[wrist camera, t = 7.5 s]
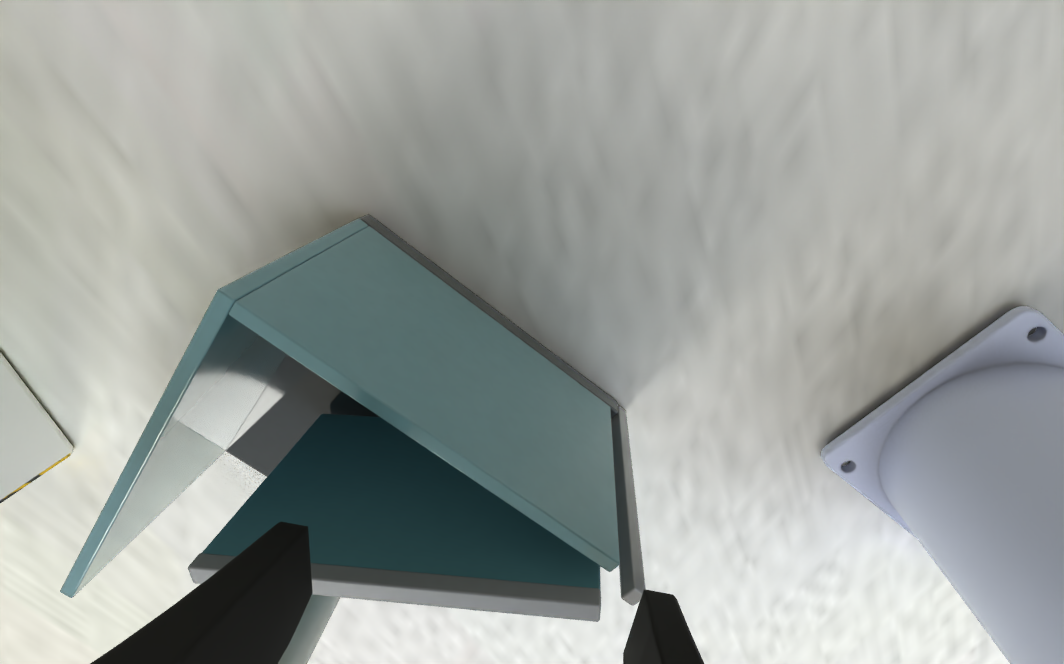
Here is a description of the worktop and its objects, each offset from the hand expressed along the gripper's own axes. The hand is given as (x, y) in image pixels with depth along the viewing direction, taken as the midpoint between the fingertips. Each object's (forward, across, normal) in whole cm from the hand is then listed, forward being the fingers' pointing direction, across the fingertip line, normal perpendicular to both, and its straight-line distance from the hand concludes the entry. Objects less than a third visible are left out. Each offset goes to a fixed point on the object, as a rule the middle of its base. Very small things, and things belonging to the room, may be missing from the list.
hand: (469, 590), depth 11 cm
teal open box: (+9, +4, +3) cm, 11 cm away
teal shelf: (+8, +2, +4) cm, 10 cm away
